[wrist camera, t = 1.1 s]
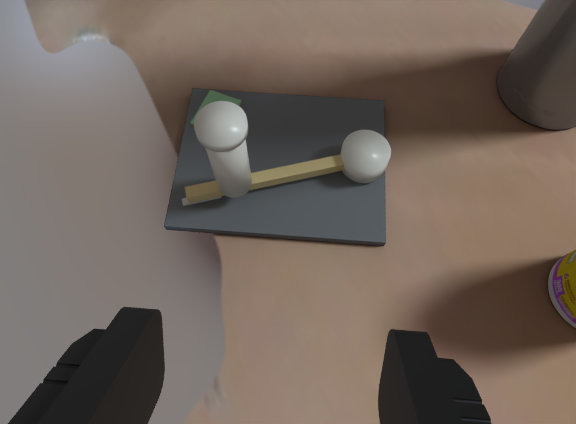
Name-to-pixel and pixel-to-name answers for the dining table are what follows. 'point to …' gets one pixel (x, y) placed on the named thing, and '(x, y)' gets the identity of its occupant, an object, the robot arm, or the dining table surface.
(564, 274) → the supplement bottle
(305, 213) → the dark grey base plate
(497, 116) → the dining table surface
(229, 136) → the domed post with rod
